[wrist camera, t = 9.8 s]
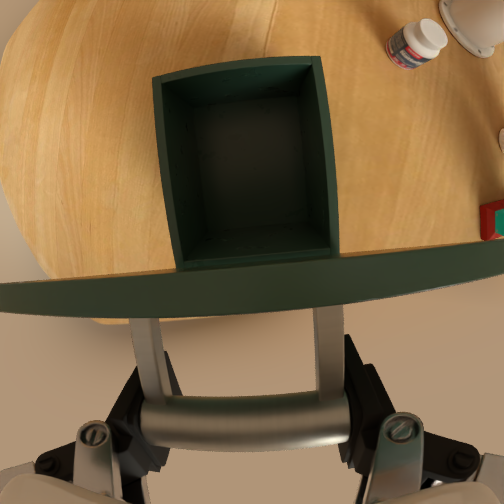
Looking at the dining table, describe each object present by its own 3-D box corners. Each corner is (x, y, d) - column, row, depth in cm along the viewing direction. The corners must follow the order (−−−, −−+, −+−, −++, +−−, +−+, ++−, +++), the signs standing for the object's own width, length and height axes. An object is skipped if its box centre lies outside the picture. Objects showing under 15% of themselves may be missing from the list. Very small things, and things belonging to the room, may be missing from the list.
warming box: (187, 104, 29) (151, 77, 18) (301, 91, 28) (320, 55, 17) (204, 236, 34) (176, 271, 23) (314, 226, 33) (339, 256, 22)
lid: (-11, 284, 5) (36, 449, 5) (509, 238, 4) (482, 440, 4) (174, 268, 22) (182, 333, 22) (340, 253, 21) (345, 321, 21)
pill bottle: (385, 63, 26) (416, 40, 18) (384, 33, 25) (411, 7, 16) (418, 75, 26) (454, 58, 18) (416, 45, 25) (448, 24, 16)
